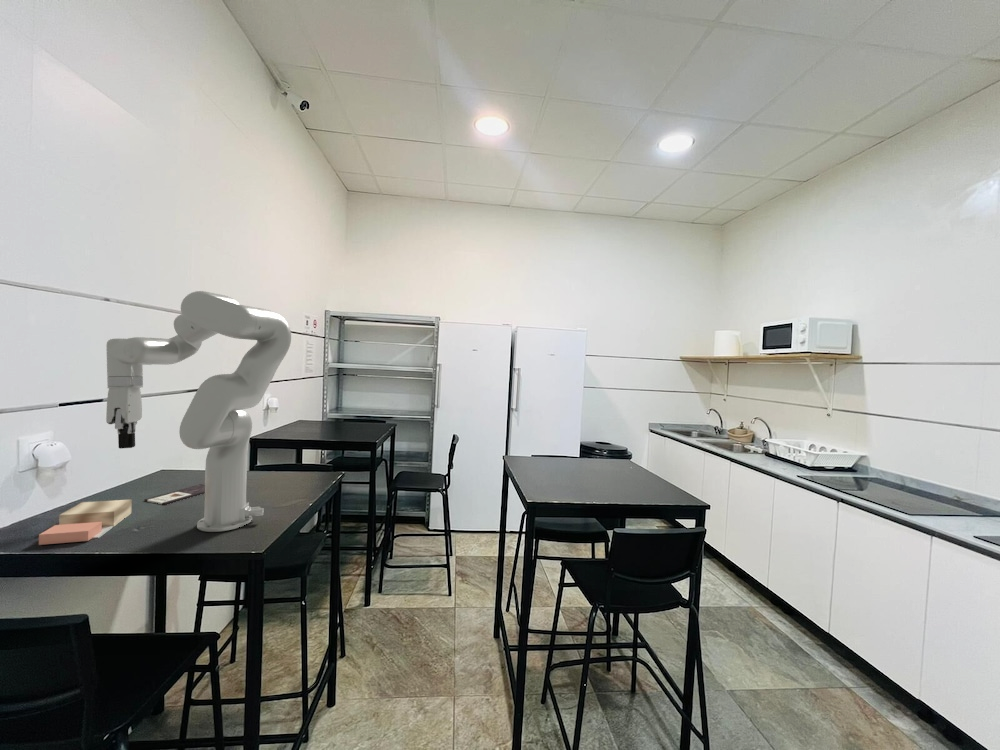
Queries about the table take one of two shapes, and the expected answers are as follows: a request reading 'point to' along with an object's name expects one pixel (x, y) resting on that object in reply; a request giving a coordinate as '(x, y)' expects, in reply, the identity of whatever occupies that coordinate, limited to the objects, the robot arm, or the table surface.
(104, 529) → the mat
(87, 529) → the pink rubber eraser
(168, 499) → the chocolate bar
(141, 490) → the table surface
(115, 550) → the table surface
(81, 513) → the wooden block
